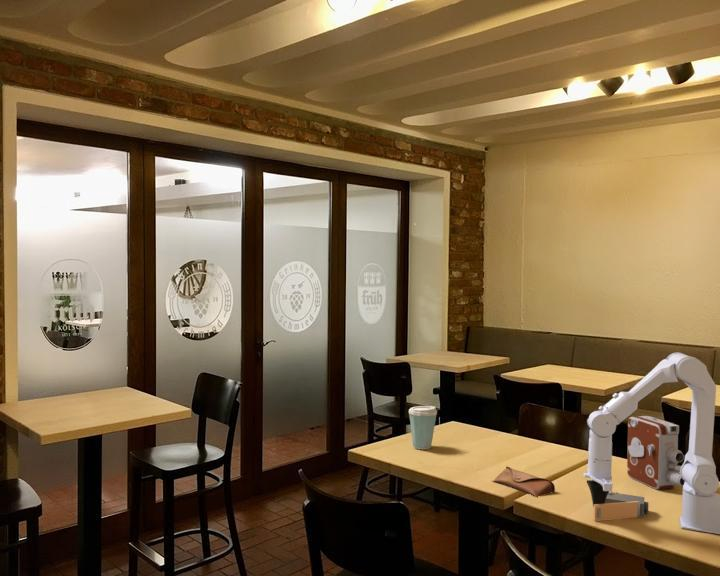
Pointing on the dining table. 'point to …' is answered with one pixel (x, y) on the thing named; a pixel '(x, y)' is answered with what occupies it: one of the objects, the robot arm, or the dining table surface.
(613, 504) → the side door
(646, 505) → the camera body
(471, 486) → the dining table surface
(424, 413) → the disposable coffee cup
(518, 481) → the sunglasses case
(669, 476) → the cine camera
